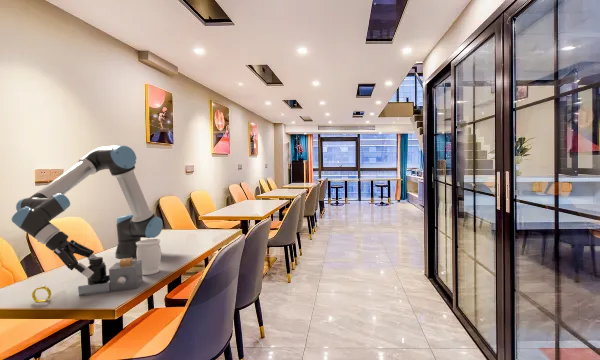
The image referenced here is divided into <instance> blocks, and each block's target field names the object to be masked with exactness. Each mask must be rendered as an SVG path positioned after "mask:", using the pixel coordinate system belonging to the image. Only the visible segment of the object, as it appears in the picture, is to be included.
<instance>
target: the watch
mask: <svg viewBox="0 0 600 360" xmlns="http://www.w3.org/2000/svg"><path fill="white" fill-rule="evenodd" d="M37 290H46V291H47V295H48V296H47V298H46V299H38V298H37V296H36V292H37ZM31 297H32V300H33V301H34V302H36V303H45V302H47V301H49V300H50V299H51V297H52V291H51V289H50V288H49V287H48V286H46V284H43V285H38V286H36V288H35V289H34V290H33V291H32V293H31Z"/></svg>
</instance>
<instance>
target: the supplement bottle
mask: <svg viewBox="0 0 600 360" xmlns="http://www.w3.org/2000/svg"><path fill="white" fill-rule="evenodd" d="M102 262H104V258H103V256H97V257H95V258H91V259H89V260H88V264H89V265H88V266H86V267H87V268H89V269H90V270H91V271H93V272H94V273H93V274H92V276H91V277H90V278H89V279H88V278H87V277H86V278H87V285H90V284H99V283H107V275H108V273H107V265H106V263H105V264H104V263H102Z"/></svg>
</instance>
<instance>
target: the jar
mask: <svg viewBox="0 0 600 360" xmlns="http://www.w3.org/2000/svg"><path fill="white" fill-rule="evenodd" d="M160 242H161V240H160V239H159V238H147V239H144V240H143V239H141V241H138V242H136V245H137V252H136V255H137V256H136V261H138V260H141V262H142V276H150V275H151V276H152V275H155V274H157V273H159V272H160V271H161V269H160V268H159V267H160V265H161V259H162V258H161V257H162V248H161V245H160Z"/></svg>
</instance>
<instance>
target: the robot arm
mask: <svg viewBox="0 0 600 360" xmlns="http://www.w3.org/2000/svg"><path fill="white" fill-rule="evenodd" d="M136 164H137V155H136V152H135V151H134V149H133V148H132V147H130V146H127V145H119V144H118V145H108V146H100V147H97V148H95V149H93V150H91V151H89V152H88V153H86V154H85V155H83V156H82V157H81V158H79V159H78V161H77V163H76V164H74V165H73V166H72V167H71V168H69V169H68V170H67V171H65V172H63V173H62V174H61V175H59V176H58V177H56V178H55V179H54V180H52V181H51V182H49V183H47V185H45V186H44V187H43V188H41V189H40V190H38V191H37V192H36V193H34V194H33V195H32V196H29V197H25V198H21V199H20V200H18V202H17V203H16V205H15V208H16V212H15V213H14V214H13V215H12V217H11V222H12V223H13V224H14V225H15V226H17V227H18V228H19V229H21V230H22V231H24V232H26V233H27V234H28V235H29V236H31V237H33V238H34V239H35V240H37V243H40V244H42V245H45V247H46V248H47V249H48V250H50V251H51V252H53V253H54V254H55V255H56V256H58V258H59V259H60V260H61V261H62V263H63V264H64V265H65V266H66V267H67V268H68V269H69V270H71V271H72V270H73V271H74V270H76V271H77V272H79V273H81V274H82V275H83V276H84V277H86V278H88V279H89V278H90V277H91V276H92V274H93V273H94V272H93V271H91V270H90V269H89V268H87V267H88V266H86V265H84V264H83V263H82V262H79V261H78V259H77V258H76V257H75V255H79V256H82V257H85V258H87V260H88V261H89V259H91V258H95V257H98V256H97V255H95V254H94V253H95V251H94V250H92V249H90V248H89V247H87V246H85V245H82V244H81V243H79V242H77V241H75V240H73V239H71V240H70V241H69V240H68V239H69V235H68V234H66V233H65V232H64V231H62V230H61V229H60V228H58V227H57V226H56V225H54V224H53V223H51V220H54V219H55V218H56V217H57V216H59V215H60V214H63V212H65V211H66V210H67V209H68V208H69V207H70V206H71V202H70V199H69V197H67V196H66V195H65V194H67V193H68V192H69V191H71V190H72V189H73V188H74V187H76V186H77V185H79V184H80V183H81V182H82V181H84V180H85V179H87V177H89V176H90V175H91V176H92V175H95V174H96V173H98V172H100V171H104V170H109V172H110V174H111V176H113V177H115V178H116V180H117V182H118V184H119V186H120V189H121V191H122V195H123V196H124V199H125V200H126V202H127V205H128V208H129V209H130V212H131V214H126V215H122V216H119V217H117V218H116V232H117V246H116V249H115V253H114V254H115V256H114V257H115V258H117V259H123V258H137V255H136V252H137V245H136V242H138V241H142V238H144V239H146V238H147V239H156V238H157V237H159V235H160V234H161V232H162V230H163V225H164V224H163V223H164V222H163V220H162V218H161V217H160V216H156V215H155V212H154V211H153V210H152V209H150V208H149V205H148V204H147V201H146V199H145V196H144V193H143V191H142V189H141V186H140V183H139V181H138V179H137V175H136V174H135V169H136V166H135V165H136ZM60 230H61V231H60ZM102 263H104V264H105V265H106V262H105V261H103V262H102ZM88 279H87V280H88Z"/></svg>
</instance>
